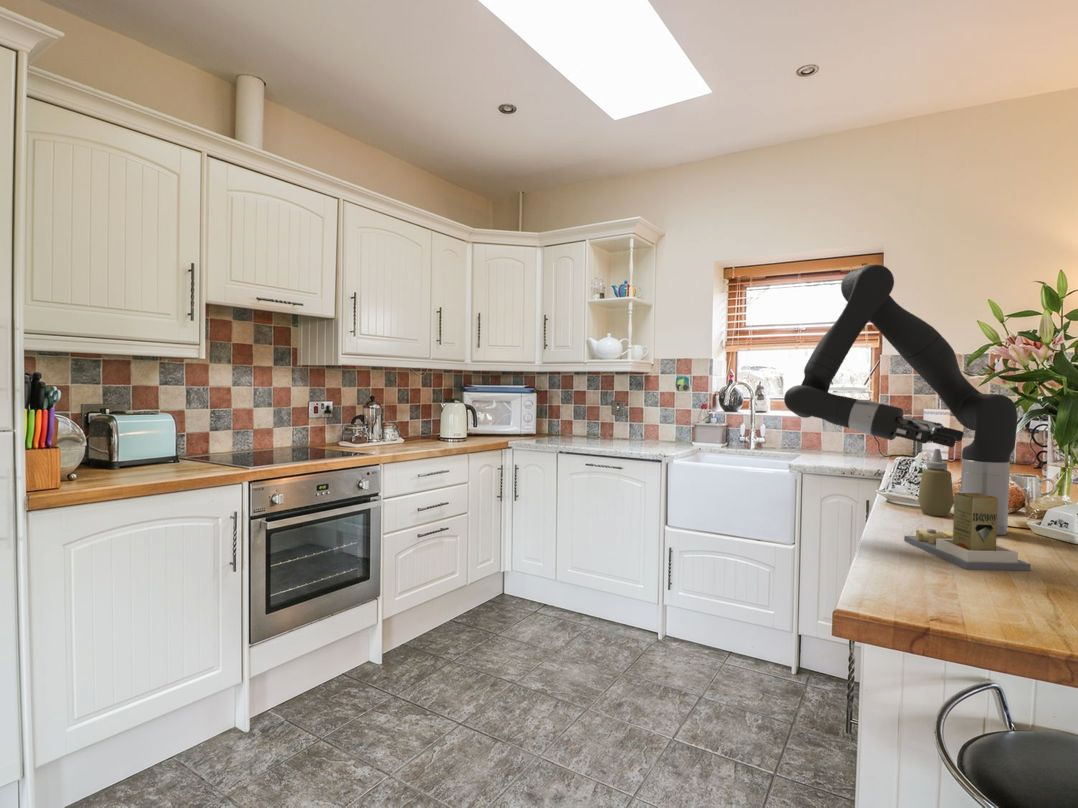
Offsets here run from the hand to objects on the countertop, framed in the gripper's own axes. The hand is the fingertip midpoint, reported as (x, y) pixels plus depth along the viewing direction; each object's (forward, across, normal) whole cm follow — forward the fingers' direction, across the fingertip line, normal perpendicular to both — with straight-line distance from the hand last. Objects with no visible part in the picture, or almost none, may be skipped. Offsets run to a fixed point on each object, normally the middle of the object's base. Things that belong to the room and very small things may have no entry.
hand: (959, 439), depth 123 cm
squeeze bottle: (-4, +38, +29) cm, 47 cm away
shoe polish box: (+9, -8, +21) cm, 24 cm away
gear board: (+7, -4, +23) cm, 24 cm away
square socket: (+9, -8, +21) cm, 24 cm away
